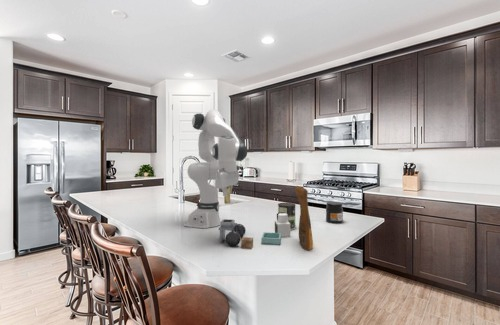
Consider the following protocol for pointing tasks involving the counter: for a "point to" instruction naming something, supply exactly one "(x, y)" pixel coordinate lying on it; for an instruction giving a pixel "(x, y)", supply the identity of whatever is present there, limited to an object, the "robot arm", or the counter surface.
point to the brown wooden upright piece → (304, 219)
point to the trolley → (234, 235)
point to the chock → (247, 242)
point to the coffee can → (288, 212)
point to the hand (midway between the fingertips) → (227, 195)
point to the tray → (271, 238)
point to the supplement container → (334, 212)
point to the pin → (227, 198)
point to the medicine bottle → (282, 224)
